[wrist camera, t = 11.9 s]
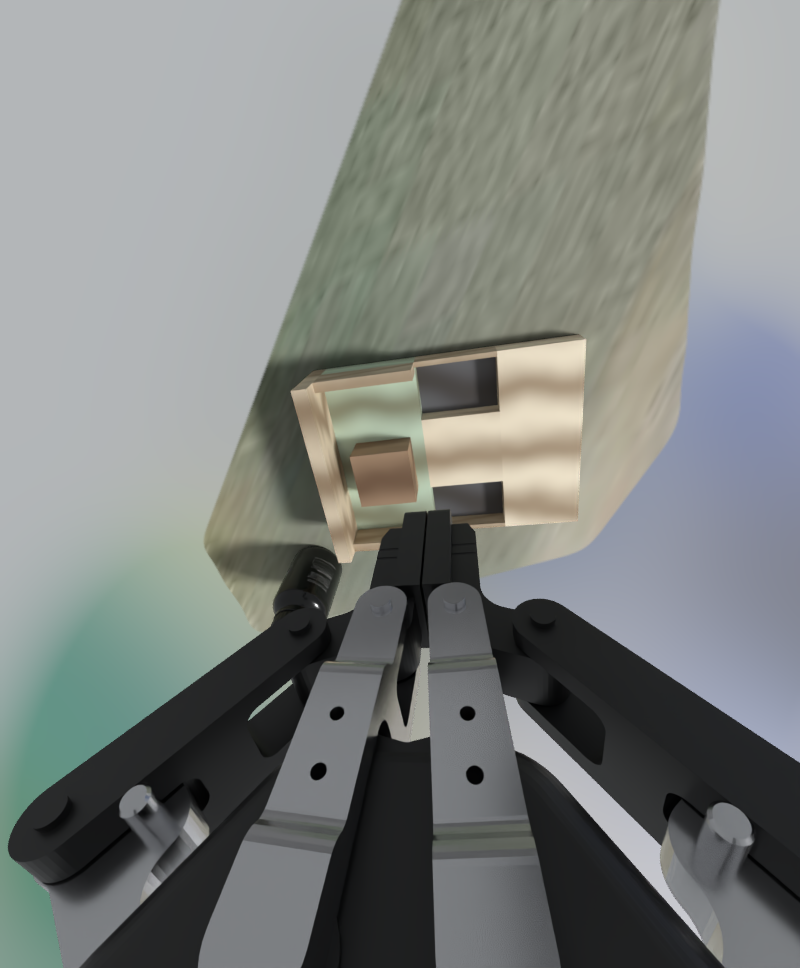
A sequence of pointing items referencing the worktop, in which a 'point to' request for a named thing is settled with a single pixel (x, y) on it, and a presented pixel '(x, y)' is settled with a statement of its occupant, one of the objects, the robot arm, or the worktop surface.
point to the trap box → (452, 435)
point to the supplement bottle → (308, 583)
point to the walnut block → (385, 472)
